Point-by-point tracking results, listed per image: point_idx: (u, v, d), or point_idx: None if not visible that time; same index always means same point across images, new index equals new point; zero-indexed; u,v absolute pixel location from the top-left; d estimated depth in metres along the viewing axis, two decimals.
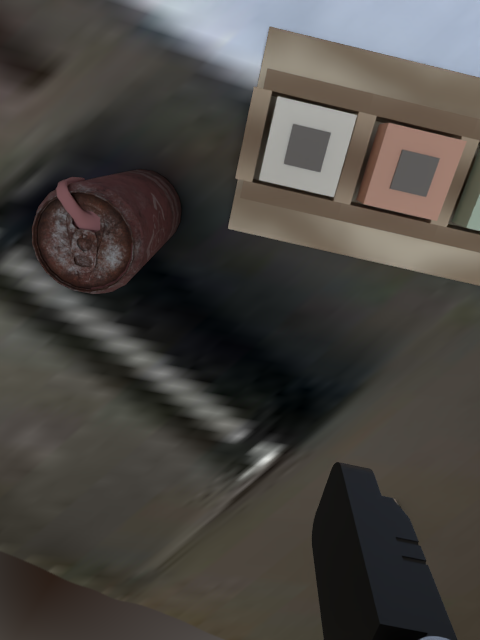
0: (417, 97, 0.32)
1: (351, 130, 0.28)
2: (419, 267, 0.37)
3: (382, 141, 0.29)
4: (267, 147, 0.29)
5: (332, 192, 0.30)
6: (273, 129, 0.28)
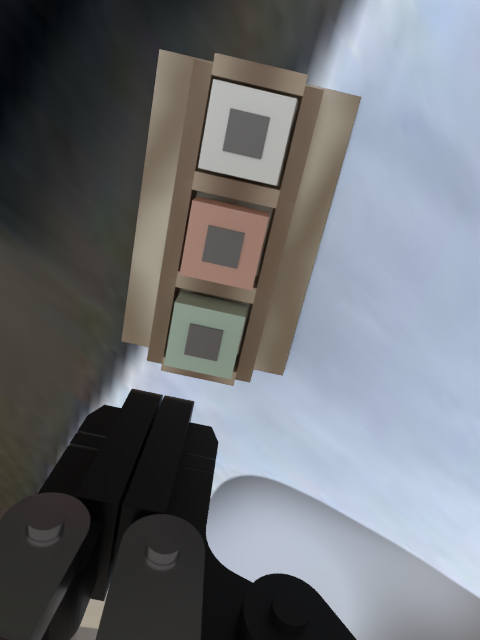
0: (290, 248, 0.35)
1: (262, 181, 0.28)
2: (135, 270, 0.36)
3: (252, 213, 0.29)
4: (247, 88, 0.27)
5: (202, 166, 0.28)
6: (264, 95, 0.27)
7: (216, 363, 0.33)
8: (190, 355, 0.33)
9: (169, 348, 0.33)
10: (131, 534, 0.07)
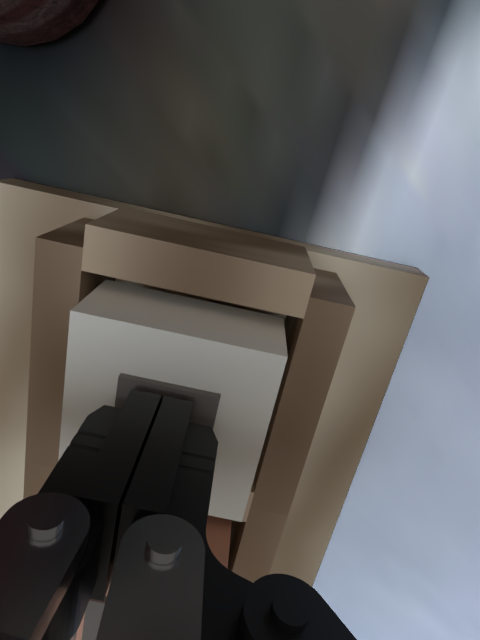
0: None
1: (209, 513, 0.12)
2: None
3: None
4: (158, 332, 0.10)
5: None
6: (204, 347, 0.10)
7: None
8: None
9: None
10: (131, 534, 0.07)
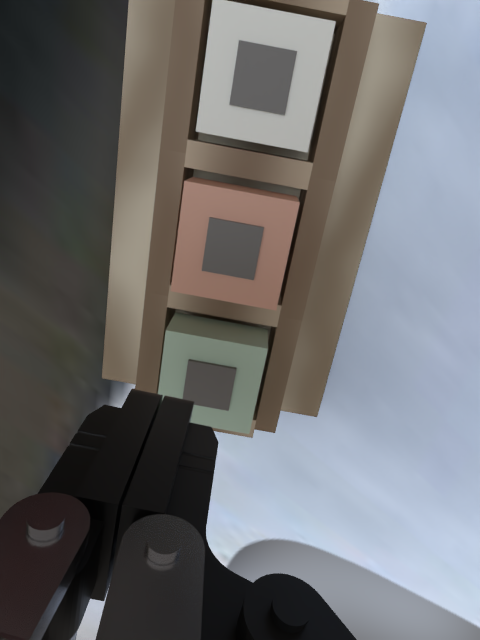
0: (326, 247, 0.25)
1: (287, 146, 0.20)
2: (114, 284, 0.27)
3: (274, 197, 0.20)
4: (262, 9, 0.18)
5: (202, 128, 0.20)
6: (288, 18, 0.18)
7: (228, 413, 0.23)
8: None
9: (161, 394, 0.23)
10: (131, 534, 0.07)
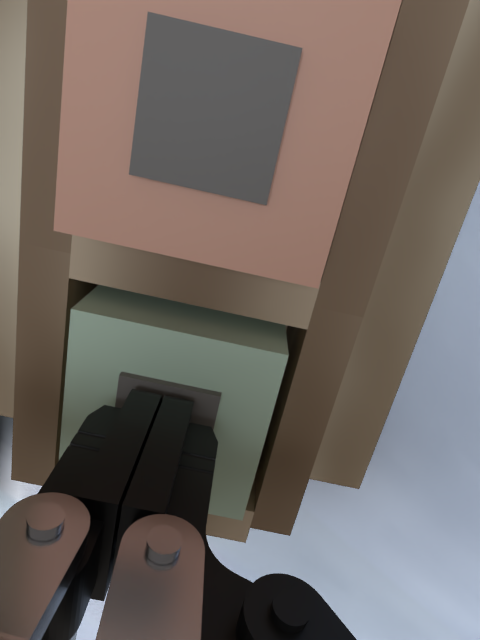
0: None
1: None
2: None
3: None
4: None
5: None
6: None
7: None
8: None
9: (67, 440, 0.12)
10: (131, 534, 0.07)
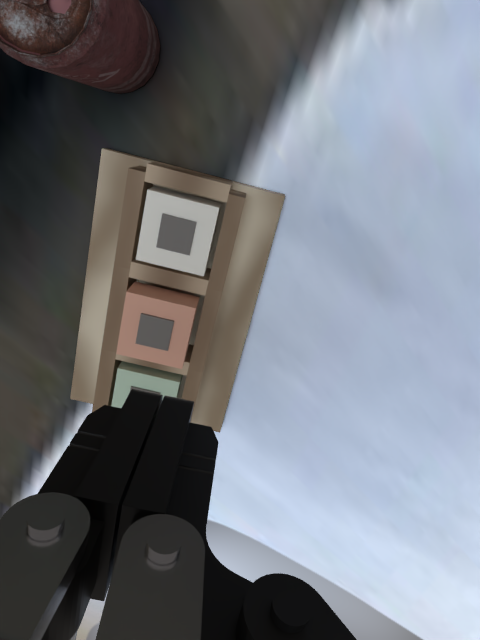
0: (225, 322, 0.39)
1: (191, 272, 0.33)
2: (82, 337, 0.39)
3: (180, 304, 0.33)
4: (176, 198, 0.31)
5: (139, 258, 0.33)
6: (191, 204, 0.31)
7: None
8: None
9: (113, 406, 0.37)
10: (131, 534, 0.07)
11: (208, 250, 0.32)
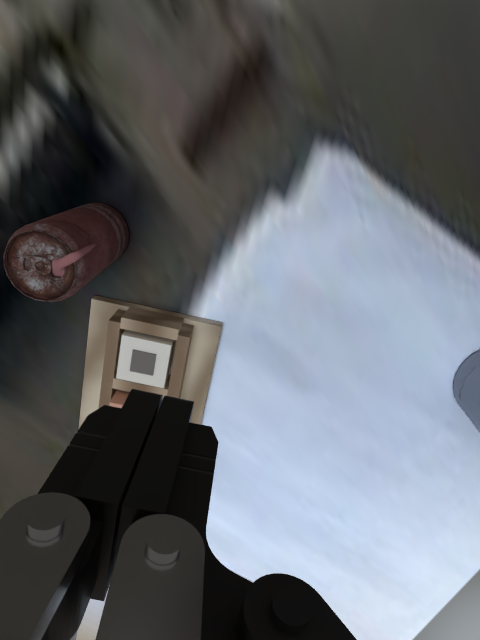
0: None
1: (155, 385, 0.47)
2: (82, 422, 0.54)
3: None
4: (141, 339, 0.45)
5: (118, 377, 0.47)
6: (152, 343, 0.46)
7: None
8: None
9: None
10: (131, 534, 0.07)
11: (165, 371, 0.47)
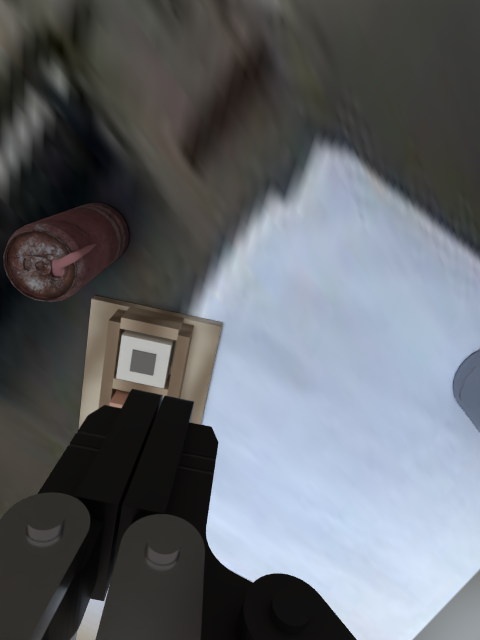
0: None
1: (155, 385, 0.47)
2: (82, 422, 0.54)
3: None
4: (141, 339, 0.45)
5: (118, 377, 0.47)
6: (152, 343, 0.46)
7: None
8: None
9: None
10: (131, 534, 0.07)
11: (165, 371, 0.47)
